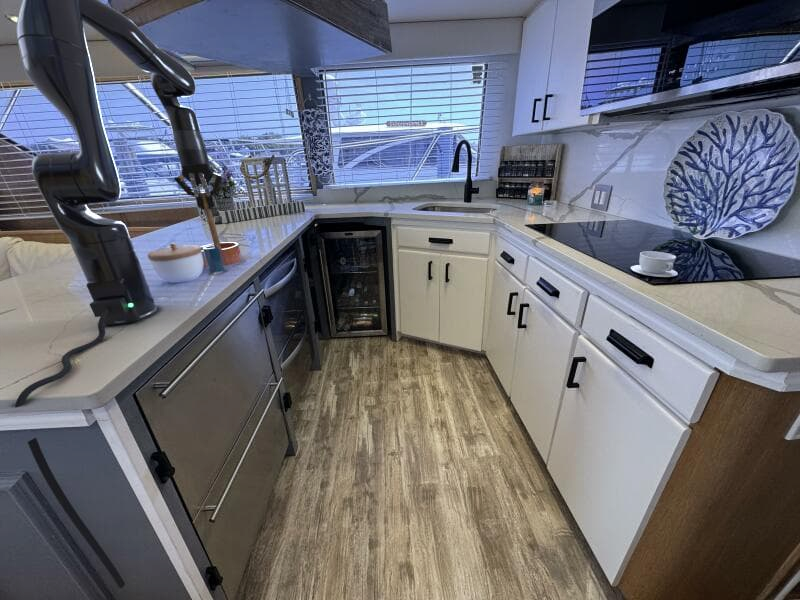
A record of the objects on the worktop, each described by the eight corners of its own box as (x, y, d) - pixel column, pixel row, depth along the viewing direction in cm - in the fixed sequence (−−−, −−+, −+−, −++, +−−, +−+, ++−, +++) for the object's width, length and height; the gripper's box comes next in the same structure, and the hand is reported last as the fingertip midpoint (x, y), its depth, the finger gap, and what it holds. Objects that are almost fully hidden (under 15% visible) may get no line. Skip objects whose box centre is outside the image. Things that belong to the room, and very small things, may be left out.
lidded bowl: (173, 291, 85) (159, 251, 81) (149, 284, 91) (135, 246, 87) (218, 277, 95) (207, 240, 91) (194, 271, 101) (183, 237, 97)
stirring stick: (220, 249, 106) (205, 192, 99) (214, 250, 105) (198, 192, 98) (222, 248, 107) (207, 192, 100) (216, 248, 107) (200, 192, 100)
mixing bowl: (238, 267, 104) (233, 248, 102) (196, 271, 102) (191, 252, 99) (245, 257, 115) (241, 240, 113) (208, 260, 113) (203, 244, 110)
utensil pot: (223, 273, 98) (216, 248, 95) (208, 275, 97) (200, 249, 94) (226, 269, 102) (220, 244, 99) (212, 271, 101) (205, 246, 98)
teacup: (621, 267, 89) (625, 251, 87) (656, 265, 89) (661, 249, 87) (648, 279, 80) (653, 261, 78) (687, 277, 80) (694, 259, 78)
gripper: (159, 148, 89) (178, 212, 96) (213, 147, 92) (228, 209, 99) (170, 149, 96) (187, 209, 103) (219, 148, 99) (233, 206, 106)
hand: (207, 208), depth 101 cm, fingers closed on stirring stick, 2 cm apart
